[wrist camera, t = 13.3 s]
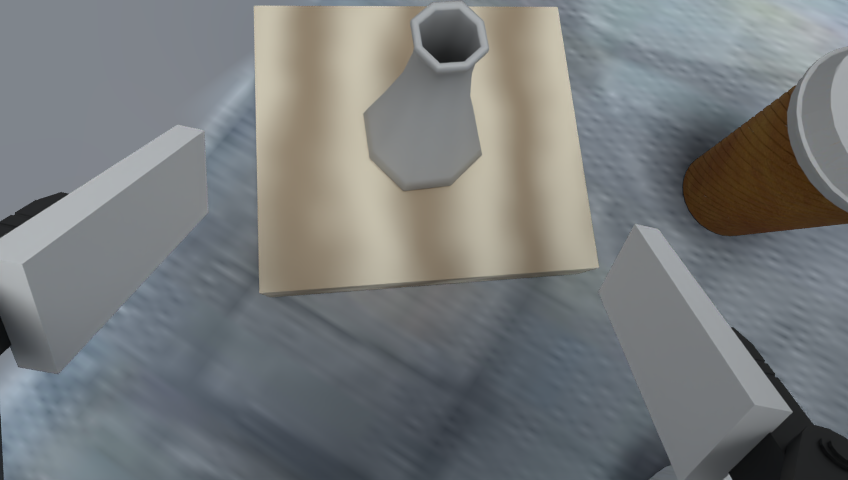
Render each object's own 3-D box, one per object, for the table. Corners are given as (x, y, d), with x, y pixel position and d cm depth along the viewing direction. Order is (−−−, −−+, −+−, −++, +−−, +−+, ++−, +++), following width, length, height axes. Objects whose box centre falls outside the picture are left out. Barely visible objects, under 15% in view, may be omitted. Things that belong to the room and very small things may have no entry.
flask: (343, 108, 28) (329, -10, 18) (446, 66, 29) (484, -65, 20) (396, 212, 27) (411, 144, 17) (500, 163, 29) (568, 76, 19)
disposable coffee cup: (723, 285, 32) (926, 258, 20) (635, 178, 33) (782, 93, 21) (806, 208, 34) (1036, 144, 22) (722, 109, 35) (900, -2, 23)
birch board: (541, 34, 34) (557, 6, 31) (577, 273, 31) (599, 267, 28) (264, 36, 32) (253, 5, 29) (270, 297, 28) (259, 293, 25)
